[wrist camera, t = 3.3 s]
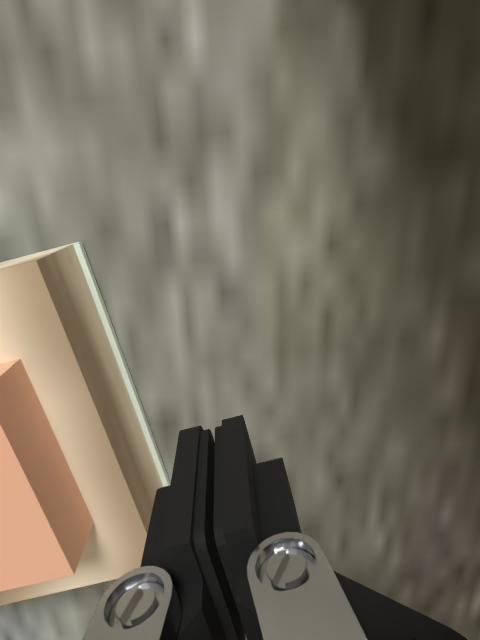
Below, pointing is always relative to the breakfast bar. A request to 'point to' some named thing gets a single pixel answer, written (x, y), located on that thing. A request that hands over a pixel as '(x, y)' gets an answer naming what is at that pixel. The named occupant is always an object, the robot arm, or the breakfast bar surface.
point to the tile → (35, 491)
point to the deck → (80, 410)
